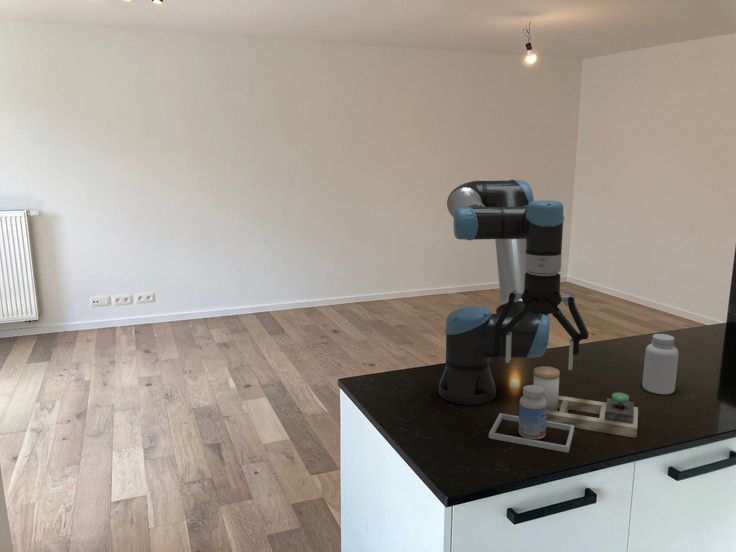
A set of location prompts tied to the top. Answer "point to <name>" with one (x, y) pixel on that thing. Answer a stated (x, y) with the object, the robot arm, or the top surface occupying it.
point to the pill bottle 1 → (532, 413)
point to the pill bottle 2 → (660, 365)
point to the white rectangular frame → (529, 441)
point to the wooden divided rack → (608, 421)
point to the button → (620, 399)
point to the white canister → (548, 385)
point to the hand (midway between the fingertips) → (538, 364)
